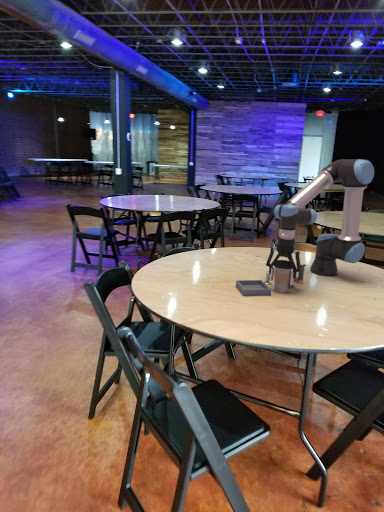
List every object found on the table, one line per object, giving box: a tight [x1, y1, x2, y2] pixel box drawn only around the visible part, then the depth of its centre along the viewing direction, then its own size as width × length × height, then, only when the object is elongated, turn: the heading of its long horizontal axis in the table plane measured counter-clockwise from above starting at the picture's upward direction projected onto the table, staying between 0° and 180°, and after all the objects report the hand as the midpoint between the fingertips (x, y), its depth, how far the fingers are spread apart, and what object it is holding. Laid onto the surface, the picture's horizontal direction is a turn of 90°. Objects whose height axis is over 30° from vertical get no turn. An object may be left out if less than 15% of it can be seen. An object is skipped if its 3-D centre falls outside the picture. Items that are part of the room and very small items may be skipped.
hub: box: [287, 280, 295, 289], centre depth 177 cm, size 8×8×4 cm
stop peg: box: [263, 270, 272, 286], centre depth 179 cm, size 4×4×7 cm
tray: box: [235, 279, 273, 297], centre depth 168 cm, size 14×14×3 cm
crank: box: [290, 263, 307, 285], centre depth 172 cm, size 13×6×10 cm, turn 29°
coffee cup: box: [273, 259, 293, 294], centre depth 168 cm, size 9×9×15 cm
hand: (281, 282), depth 168 cm, fingers closed on coffee cup, 9 cm apart
